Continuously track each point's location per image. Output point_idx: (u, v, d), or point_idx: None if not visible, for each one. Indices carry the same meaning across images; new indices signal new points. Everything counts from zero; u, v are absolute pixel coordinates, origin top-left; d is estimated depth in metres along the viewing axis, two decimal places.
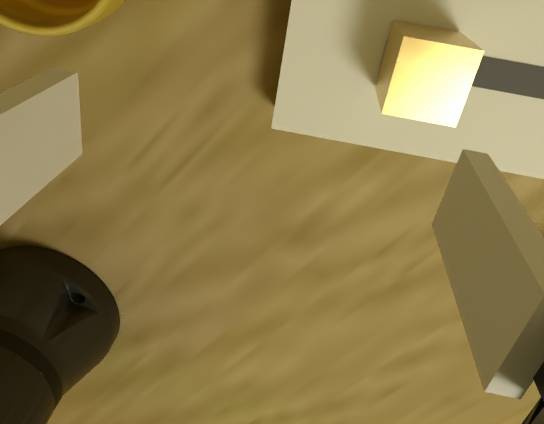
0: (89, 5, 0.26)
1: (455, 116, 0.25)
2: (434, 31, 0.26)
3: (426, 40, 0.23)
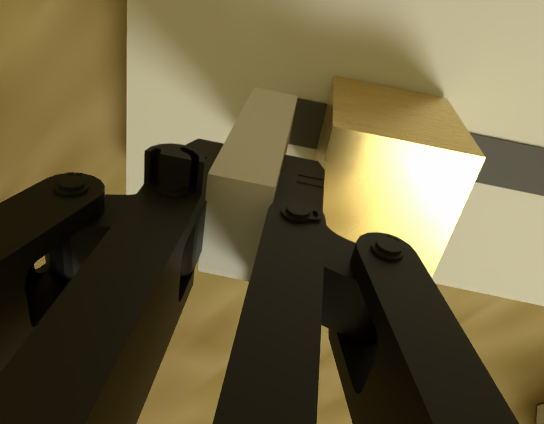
0: None
1: (430, 260, 0.14)
2: (399, 101, 0.15)
3: (376, 134, 0.12)
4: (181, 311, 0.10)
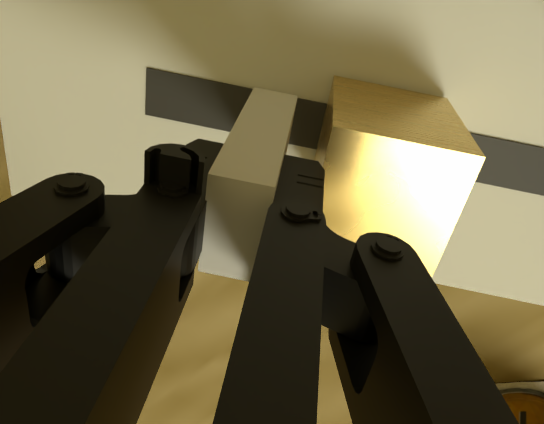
0: None
1: (430, 259, 0.14)
2: (399, 101, 0.15)
3: (376, 134, 0.12)
4: (181, 311, 0.10)
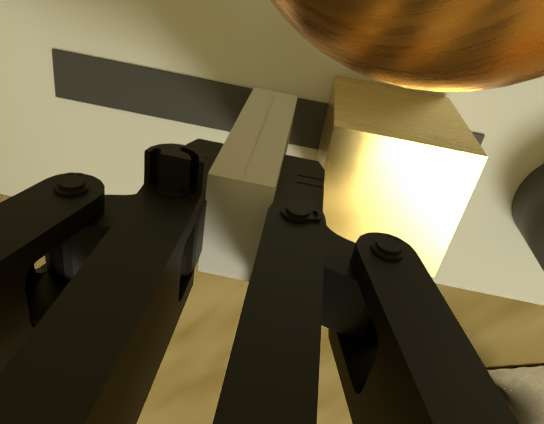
0: None
1: (433, 260, 0.14)
2: (401, 101, 0.15)
3: (377, 134, 0.12)
4: (181, 311, 0.10)
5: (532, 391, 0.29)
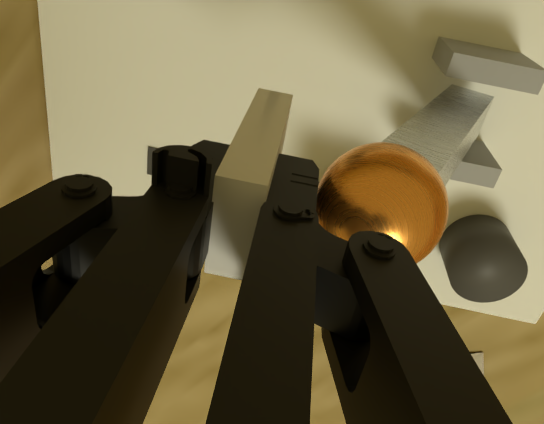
0: None
1: None
2: None
3: None
4: (187, 313, 0.10)
5: None
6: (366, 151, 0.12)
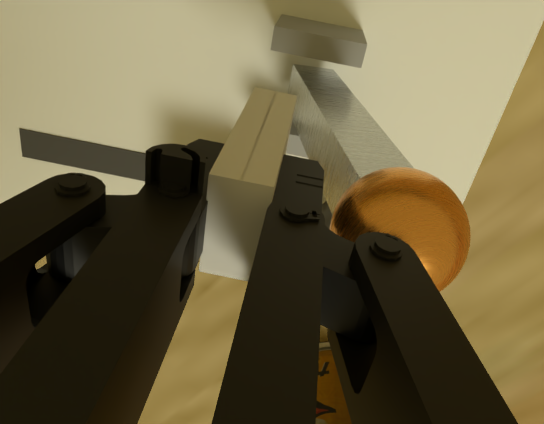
0: None
1: None
2: None
3: None
4: (182, 311, 0.10)
5: None
6: (396, 188, 0.11)
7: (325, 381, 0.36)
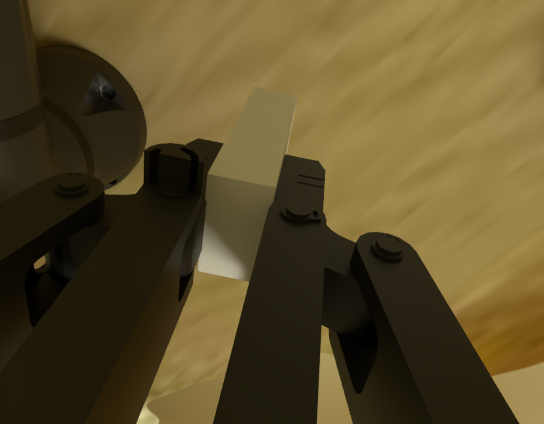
0: None
1: None
2: None
3: None
4: (181, 311, 0.10)
5: None
6: None
7: None
